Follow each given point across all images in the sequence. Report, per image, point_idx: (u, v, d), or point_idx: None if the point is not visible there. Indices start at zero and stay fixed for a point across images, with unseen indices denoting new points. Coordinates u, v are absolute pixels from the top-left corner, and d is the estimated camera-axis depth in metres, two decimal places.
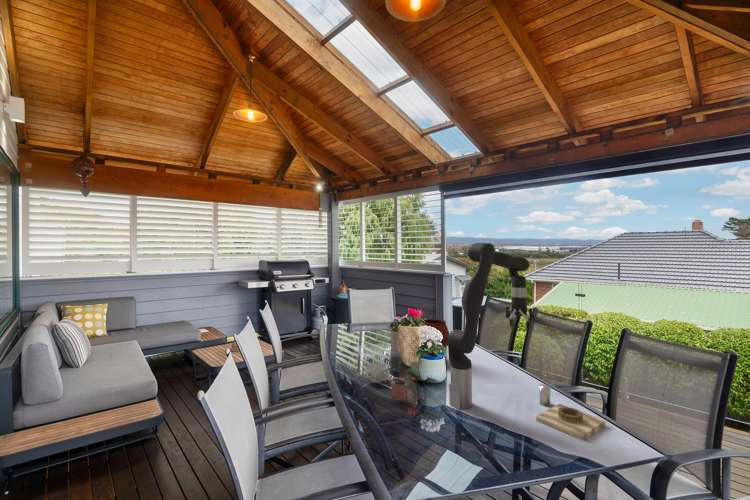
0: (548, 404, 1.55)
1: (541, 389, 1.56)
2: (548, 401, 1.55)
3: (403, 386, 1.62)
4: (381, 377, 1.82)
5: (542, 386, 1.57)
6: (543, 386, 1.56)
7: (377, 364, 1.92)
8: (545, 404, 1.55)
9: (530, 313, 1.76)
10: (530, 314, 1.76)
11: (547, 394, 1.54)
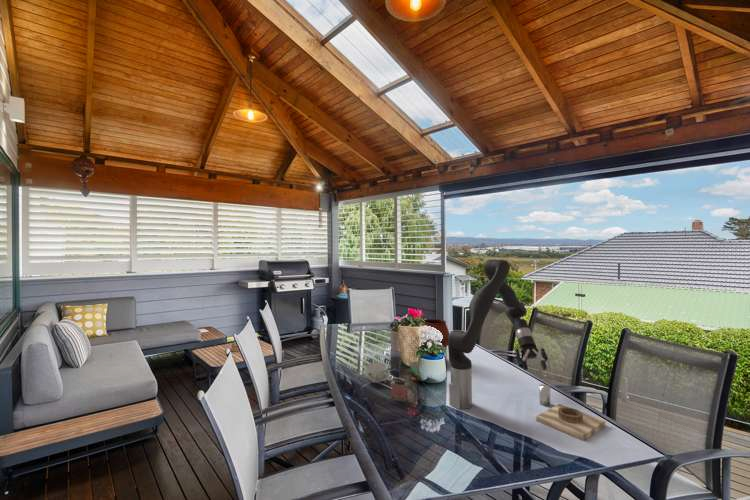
0: (548, 404, 1.55)
1: (541, 389, 1.56)
2: (548, 401, 1.55)
3: (403, 386, 1.62)
4: (381, 377, 1.82)
5: (542, 386, 1.56)
6: (543, 386, 1.56)
7: (377, 364, 1.92)
8: (545, 404, 1.55)
9: (544, 352, 1.70)
10: (544, 353, 1.70)
11: (547, 394, 1.54)
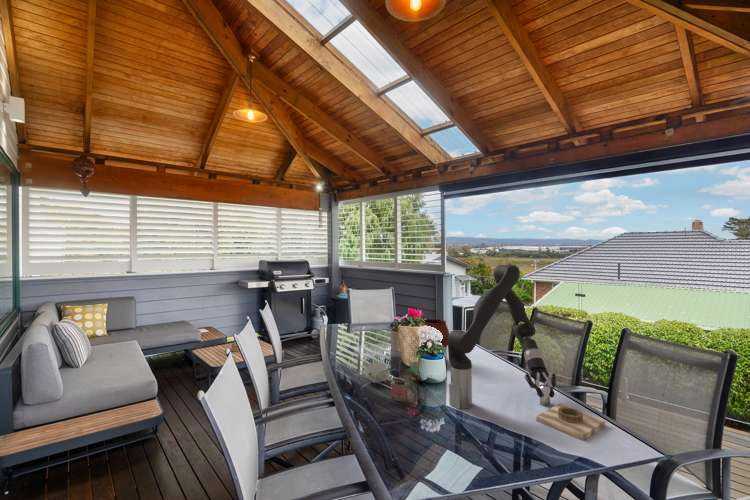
0: (548, 404, 1.55)
1: (541, 389, 1.56)
2: (548, 401, 1.55)
3: (403, 386, 1.62)
4: (381, 377, 1.82)
5: (542, 386, 1.56)
6: (543, 386, 1.56)
7: (377, 364, 1.92)
8: (545, 404, 1.55)
9: (554, 378, 1.59)
10: (554, 379, 1.59)
11: (547, 394, 1.54)
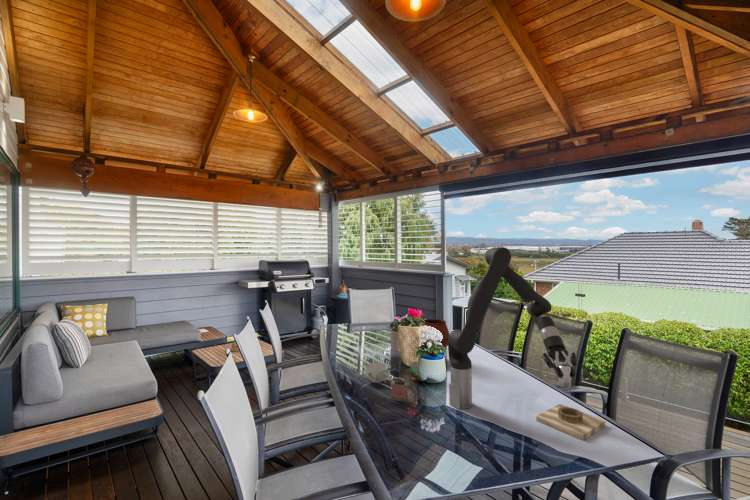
0: (569, 385, 1.41)
1: (561, 369, 1.42)
2: (569, 382, 1.41)
3: (403, 386, 1.62)
4: (381, 377, 1.82)
5: (562, 366, 1.43)
6: (563, 366, 1.43)
7: (377, 364, 1.92)
8: (565, 385, 1.41)
9: (574, 357, 1.46)
10: (574, 358, 1.46)
11: (567, 374, 1.41)
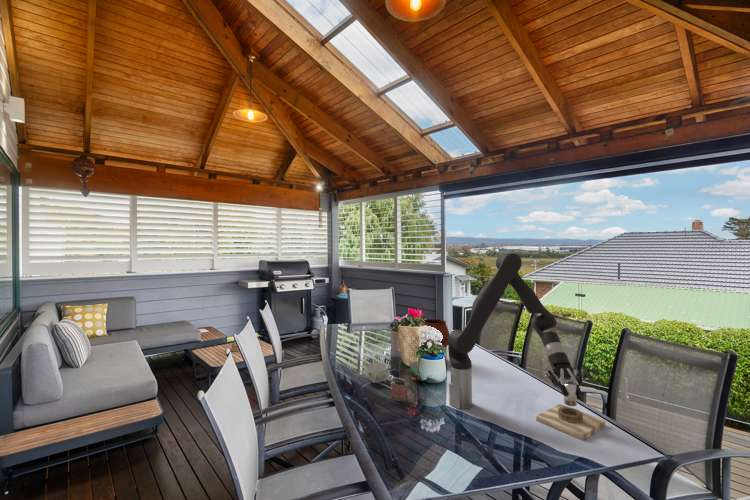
0: (574, 404, 1.38)
1: (566, 387, 1.39)
2: (574, 400, 1.38)
3: (403, 386, 1.62)
4: (381, 377, 1.82)
5: (567, 384, 1.40)
6: (568, 384, 1.39)
7: (377, 364, 1.92)
8: (571, 404, 1.38)
9: (580, 375, 1.42)
10: (580, 376, 1.42)
11: (573, 393, 1.38)
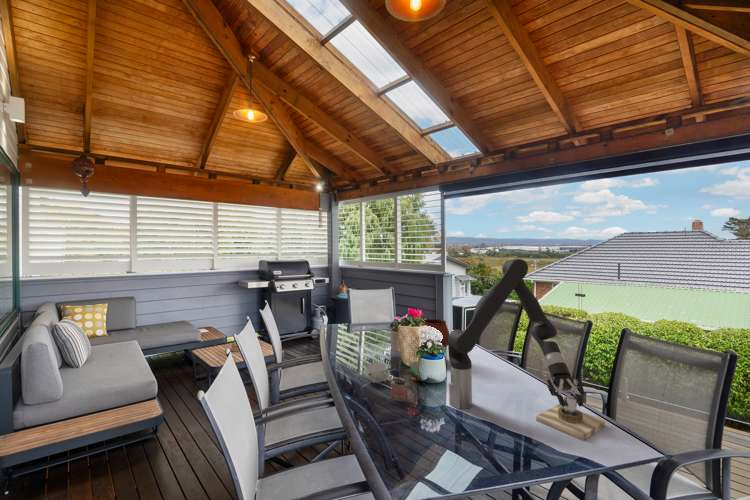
0: None
1: (566, 401, 1.39)
2: (574, 415, 1.38)
3: (403, 386, 1.62)
4: (381, 377, 1.82)
5: (567, 398, 1.40)
6: (568, 398, 1.39)
7: (377, 364, 1.92)
8: None
9: (580, 384, 1.43)
10: (581, 385, 1.42)
11: (573, 407, 1.38)
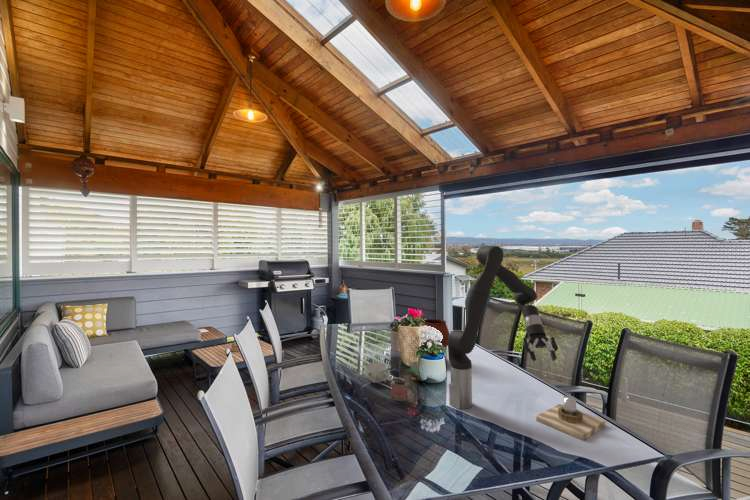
0: None
1: (566, 401, 1.39)
2: (574, 415, 1.38)
3: (403, 386, 1.62)
4: (381, 377, 1.82)
5: (567, 398, 1.40)
6: (568, 398, 1.39)
7: (377, 364, 1.92)
8: None
9: (554, 342, 1.59)
10: (554, 343, 1.59)
11: (573, 407, 1.38)
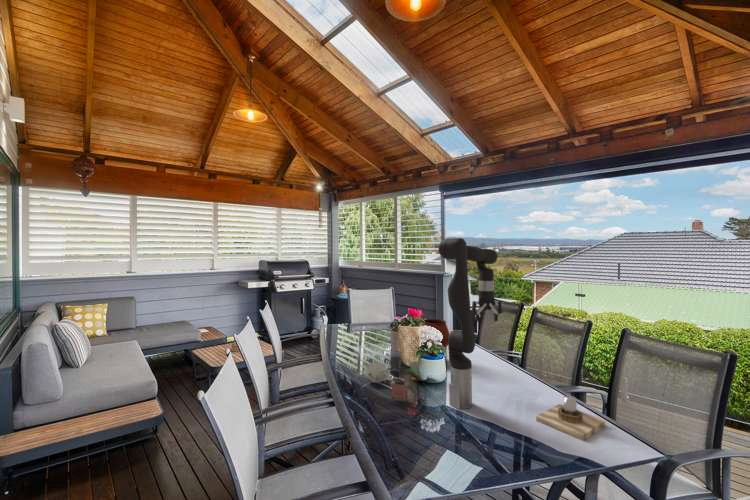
0: None
1: (566, 401, 1.39)
2: (574, 415, 1.38)
3: (403, 386, 1.62)
4: (381, 377, 1.82)
5: (567, 397, 1.40)
6: (568, 398, 1.40)
7: (377, 364, 1.92)
8: None
9: (500, 306, 1.74)
10: (500, 307, 1.74)
11: (573, 407, 1.38)
